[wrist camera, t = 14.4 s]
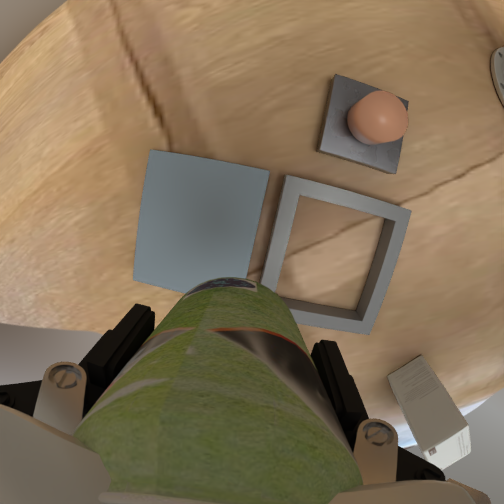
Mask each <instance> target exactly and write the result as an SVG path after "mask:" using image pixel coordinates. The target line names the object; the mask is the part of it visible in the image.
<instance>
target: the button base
mask: <svg viewBox="0 0 504 504" xmlns="http://www.w3.org/2000/svg"><path fill="white" fill-rule="evenodd" d="M374 91H383V90H380V89H378V88H375V87H372V86H370V85H367V84H364V83H361V82H358V81H356V80H353V79H350V78H347V77H344V76H340V75H337V74H335V75H334V77H333V78H332V79H331V82H330V87H329V92H328V97H327V102H326V107H325V112H324V117H323V122H322V127H321V131H320V136H319V141H318V145H317V150H316V152H319V153H323V154H327V155H330V156H334V157H337V158H340V159H344V160H347V161H350V162H354V163H357V164H360V165H363V166H366V167H369V168H372V169H375V170H378V171H381V172H384V173H387V174H396V171H397V166H398V162H399V157H400V151H401V146H402V141H403V136H402V137H401V138H399V139H397V140H395V141H390V142H386V143H381V144H376V145H368V144H364V143H362V142H360V141H359V140H357V139H356V138H355V137H354V136H353V134H352V133H351V131H350V129H349V127H348V122H347V117H348V112H349V110H350V108H351V107H352V106H353V105H354V104H355V103H357V102H358V101H360V100H361V99H363V98H364V97H365V96H367V95H368V94H370V93H372V92H374ZM396 97H397V96H396ZM397 98H398V99H399V100H400V101H401V102H402V103H403V105H404V106H405V108H406V111H407V109H408V102H409V101H407V100H404V99H402V98H400V97H397Z"/></svg>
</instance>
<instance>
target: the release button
mask: <svg viewBox="0 0 504 504" xmlns="http://www.w3.org/2000/svg"><path fill="white" fill-rule="evenodd" d="M347 122H348V127H349V129H350V131H351V133H352V134H353V136H354V137H355V138H356V139H357V140H359V141H360V142H362V143H364V144H368V145H376V144H381V143H386V142H390V141H395V140H397V139H399V138H401V137H402V136H403V135H404V134H405V132H406V130H407V127H408V114H407V111H406V108H405V106H404V105H403V103H402V102H401V101H400V100H399V99H398V98H397V97H396V96H395V95H393V94H392V93H389V92H387V91H374V92H372V93H370V94H368V95H367V96H365V97H364V98H363V99H361V100H360V101H358V102H357V103H355V104H354V105H353V106H352V107H351V108H350V110H349V112H348V117H347Z"/></svg>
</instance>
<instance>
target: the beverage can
mask: <svg viewBox="0 0 504 504" xmlns="http://www.w3.org/2000/svg"><path fill="white" fill-rule="evenodd" d="M72 436H73V437H75V438H77V439H79V440H80V441H81V442H82V443H84V444H85V445H86V446H88V447H89V448H91V449H92V450H93V451H95V452H96V453H98V454H99V455H100V458H101V460H102V462H103V464H104V466H105V468H106V470H107V471H108V473H109V475H110V478H111V483H110V486H109V489H108V490H107V491H106V492H102V493H101V494H100V495H99V498H98V499H99V501H100V502H102V503H105V504H328V503H329V502H330V501H331V500H332V499H333V498H334V497H335V496H336V495H337V494H338V493H340V492H342V491H345V490H348V489H351V488H354V487H357V486H359V485H363V479H362V476H361V473H360V470H359V467H358V464H357V462H356V459H355V457H354V455H353V452H352V450H351V448H350V445H349V443H348V441H347V438H346V436H345V434H344V431H343V429H342V427H341V424H340V422H339V420H338V417H337V415H336V413H335V411H334V408H333V406H332V404H331V401H330V399H329V397H328V394H327V392H326V390H325V388H324V385H323V383H322V381H321V378H320V376H319V374H318V372H317V369H316V367H315V365H314V362H313V360H312V358H311V356H310V353H309V351H308V349H307V347H306V344H305V342H304V340H303V338H302V335H301V333H300V331H299V329H298V326H297V324H296V322H295V320H294V317H293V315H292V313H291V311H290V310H289V308H288V307H287V305H286V303H285V302H284V301H283V300H282V299H281V298H280V297H279V296H278V295H277V294H276V293H274V292H273V291H272V290H270V289H269V288H268V287H266V286H264V285H262V284H260V283H258V282H255V281H252V280H248V279H244V278H237V277H223V278H217V279H212V280H208V281H206V282H204V283H201V284H199V285H197V286H196V287H194V288H192V289H191V290H189V291H188V292H187V293H186V294H185V295H184V296H183V297H182V298H181V299H180V300H179V301H178V302H177V303H176V305H175V306H174V307H173V308H172V309H171V311H170V312H169V313H168V314H167V315H166V317H165V318H164V319H163V320H162V321H161V323H160V324H159V325H158V326H157V327H156V329H155V330H154V331H153V332H152V334H151V335H150V336H149V337H148V338H147V340H146V341H145V342H144V343H143V344H142V346H141V347H140V348H139V349H138V351H137V352H136V353H135V354H134V356H133V357H132V358H131V359H130V360H129V362H128V363H127V364H126V365H125V367H124V368H123V369H122V370H121V372H120V373H119V374H118V375H117V377H116V378H115V379H114V380H113V382H112V383H111V384H110V385H109V387H108V388H107V389H106V390H105V392H104V393H103V394H102V395H101V397H100V398H99V399H98V400H97V402H96V403H95V404H94V406H93V407H92V408H91V409H90V411H89V412H88V413H87V414H86V416H85V417H84V418H83V420H82V421H81V422H80V424H79V425H78V426H77V427H76V429H75V431H74V433H73V434H72Z"/></svg>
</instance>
